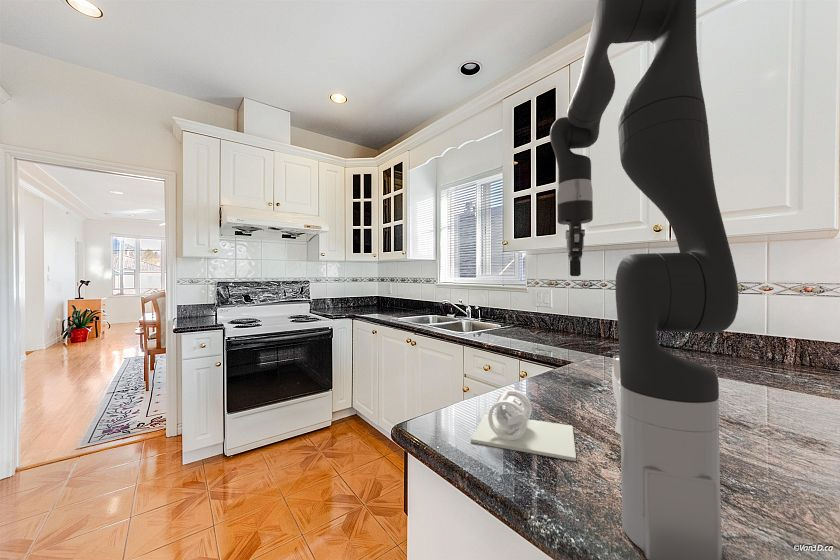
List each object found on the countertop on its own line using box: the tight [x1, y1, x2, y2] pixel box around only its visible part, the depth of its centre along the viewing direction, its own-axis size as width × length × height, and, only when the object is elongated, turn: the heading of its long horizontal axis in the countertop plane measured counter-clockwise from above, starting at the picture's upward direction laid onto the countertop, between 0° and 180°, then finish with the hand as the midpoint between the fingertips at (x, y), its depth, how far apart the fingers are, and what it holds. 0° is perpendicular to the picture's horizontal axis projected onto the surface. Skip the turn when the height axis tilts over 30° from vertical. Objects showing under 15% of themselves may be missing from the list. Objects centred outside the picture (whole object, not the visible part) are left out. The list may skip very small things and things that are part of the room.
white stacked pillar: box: [488, 389, 533, 440], centre depth 68 cm, size 7×7×15 cm
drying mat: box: [470, 412, 577, 462], centre depth 66 cm, size 14×18×1 cm
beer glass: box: [611, 354, 621, 436], centre depth 67 cm, size 7×7×15 cm
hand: (575, 276), depth 78 cm, fingers closed
